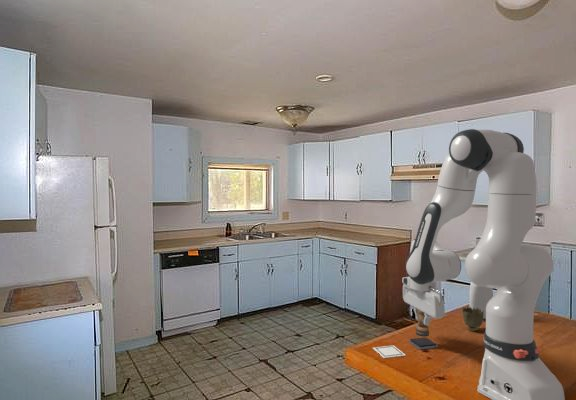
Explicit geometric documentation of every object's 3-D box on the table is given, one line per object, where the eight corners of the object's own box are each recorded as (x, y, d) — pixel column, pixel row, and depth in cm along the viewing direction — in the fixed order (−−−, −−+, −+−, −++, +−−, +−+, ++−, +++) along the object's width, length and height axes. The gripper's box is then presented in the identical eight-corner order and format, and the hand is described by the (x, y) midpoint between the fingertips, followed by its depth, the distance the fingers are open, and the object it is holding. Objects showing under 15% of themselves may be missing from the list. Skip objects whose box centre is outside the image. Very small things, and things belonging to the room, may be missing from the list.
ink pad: (438, 347, 128) (438, 344, 128) (419, 349, 126) (419, 346, 126) (426, 339, 135) (426, 336, 135) (408, 341, 133) (408, 338, 133)
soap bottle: (482, 324, 151) (482, 257, 150) (463, 318, 157) (464, 254, 157) (501, 317, 158) (502, 254, 158) (483, 312, 165) (483, 251, 165)
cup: (487, 333, 140) (487, 312, 140) (467, 333, 140) (467, 312, 140) (477, 326, 148) (477, 306, 147) (459, 326, 148) (459, 306, 148)
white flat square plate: (406, 355, 122) (406, 354, 122) (383, 358, 120) (383, 357, 120) (393, 345, 130) (393, 345, 130) (372, 348, 128) (372, 347, 128)
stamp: (431, 335, 129) (432, 307, 129) (420, 337, 128) (420, 308, 128) (424, 331, 134) (424, 303, 133) (413, 332, 133) (413, 304, 132)
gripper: (450, 290, 121) (449, 332, 121) (414, 276, 141) (414, 312, 141) (432, 291, 120) (432, 334, 120) (399, 277, 139) (399, 313, 140)
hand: (422, 322), depth 131 cm, fingers closed on stamp, 3 cm apart
